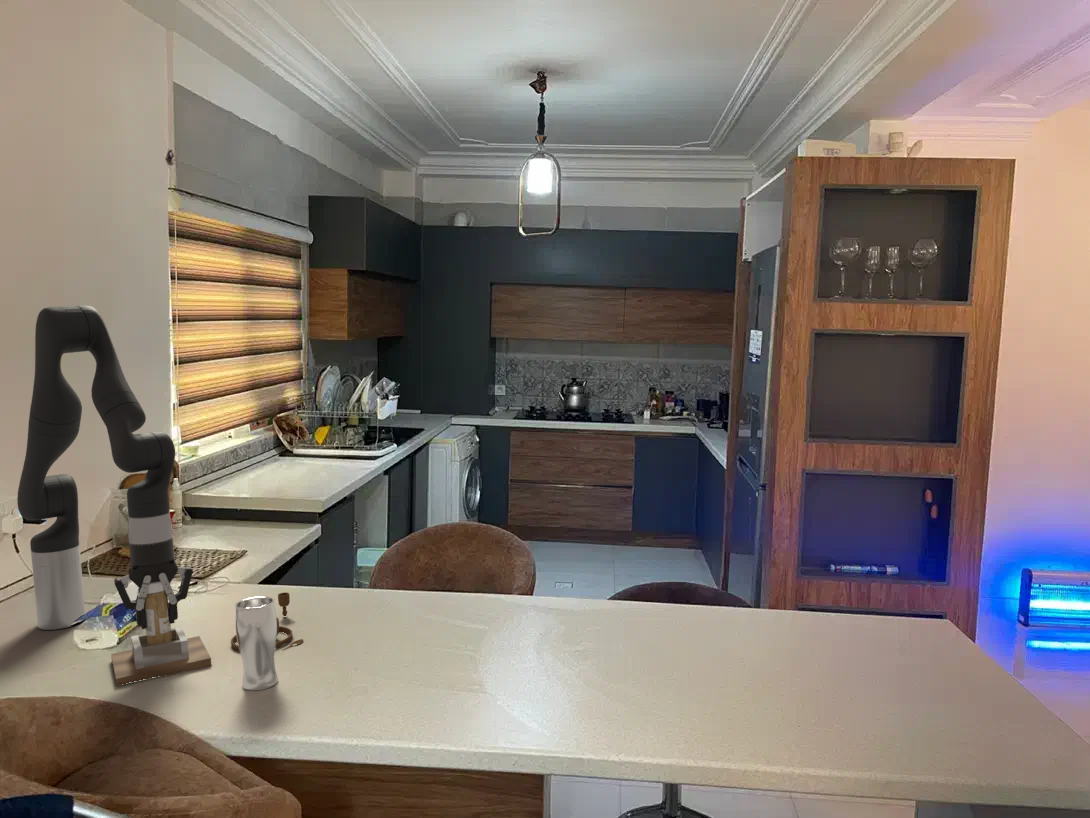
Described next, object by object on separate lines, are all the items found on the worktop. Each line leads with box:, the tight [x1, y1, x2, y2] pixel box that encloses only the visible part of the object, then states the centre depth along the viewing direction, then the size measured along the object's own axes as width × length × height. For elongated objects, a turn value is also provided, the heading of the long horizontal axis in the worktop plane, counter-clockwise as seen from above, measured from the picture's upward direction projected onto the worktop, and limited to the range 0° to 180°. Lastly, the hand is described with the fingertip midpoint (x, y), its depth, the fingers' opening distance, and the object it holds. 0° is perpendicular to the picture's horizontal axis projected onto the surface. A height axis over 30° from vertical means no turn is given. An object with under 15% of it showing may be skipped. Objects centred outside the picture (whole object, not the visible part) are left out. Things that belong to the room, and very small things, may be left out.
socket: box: [110, 626, 212, 687], centre depth 157 cm, size 14×16×5 cm
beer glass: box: [234, 596, 279, 692], centre depth 145 cm, size 7×7×15 cm
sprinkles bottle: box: [143, 581, 172, 646], centre depth 156 cm, size 5×5×13 cm
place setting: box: [230, 592, 304, 652], centre depth 170 cm, size 18×20×6 cm
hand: (157, 624), depth 156 cm, fingers closed on sprinkles bottle, 4 cm apart
